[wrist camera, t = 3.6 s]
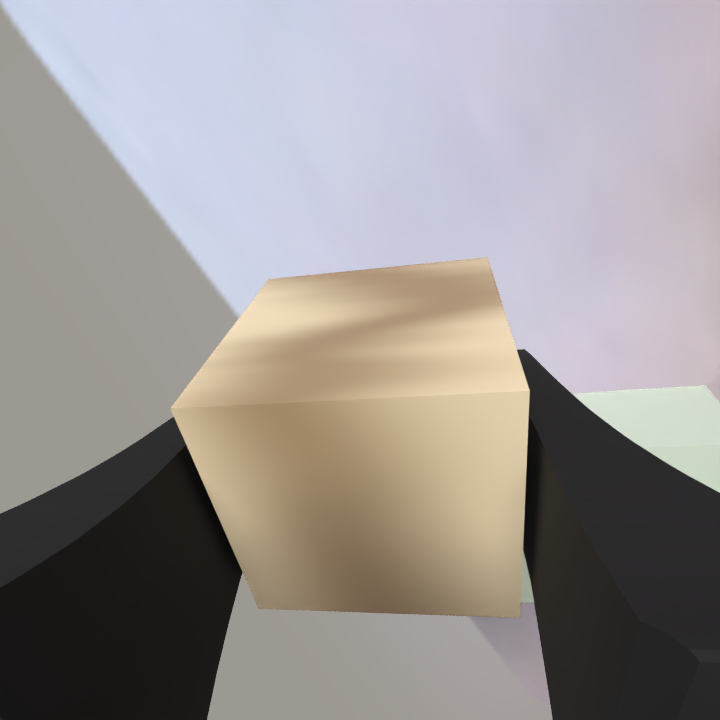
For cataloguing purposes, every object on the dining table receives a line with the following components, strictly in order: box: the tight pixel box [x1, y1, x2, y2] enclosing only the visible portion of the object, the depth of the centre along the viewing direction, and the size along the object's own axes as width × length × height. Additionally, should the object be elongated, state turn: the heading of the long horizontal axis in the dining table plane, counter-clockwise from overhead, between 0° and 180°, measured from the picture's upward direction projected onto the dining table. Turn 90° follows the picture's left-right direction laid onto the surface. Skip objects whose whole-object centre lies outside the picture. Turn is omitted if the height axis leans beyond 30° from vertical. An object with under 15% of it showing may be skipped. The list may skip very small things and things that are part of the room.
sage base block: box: [521, 385, 720, 603], centre depth 22 cm, size 10×10×4 cm
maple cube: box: [170, 257, 530, 618], centre depth 10 cm, size 5×5×5 cm
